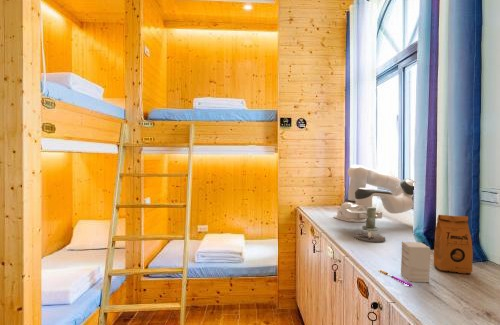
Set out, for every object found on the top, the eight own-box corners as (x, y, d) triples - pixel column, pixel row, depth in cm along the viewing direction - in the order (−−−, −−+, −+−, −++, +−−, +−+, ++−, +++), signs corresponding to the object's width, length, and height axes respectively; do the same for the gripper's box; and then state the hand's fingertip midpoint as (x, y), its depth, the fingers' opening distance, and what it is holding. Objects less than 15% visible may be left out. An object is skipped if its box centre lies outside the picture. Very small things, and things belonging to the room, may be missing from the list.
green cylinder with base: (359, 229, 174) (360, 207, 174) (367, 227, 179) (368, 206, 179) (373, 232, 168) (374, 209, 168) (381, 230, 173) (382, 208, 173)
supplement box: (420, 275, 120) (421, 242, 120) (429, 283, 113) (431, 247, 113) (400, 274, 121) (401, 241, 121) (407, 281, 114) (409, 246, 113)
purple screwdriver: (413, 287, 109) (379, 271, 124) (412, 283, 109) (379, 268, 124) (407, 289, 108) (374, 273, 124) (406, 286, 108) (373, 270, 123)
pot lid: (348, 237, 175) (348, 228, 175) (364, 233, 185) (364, 224, 185) (375, 244, 163) (376, 234, 163) (391, 239, 173) (391, 230, 173)
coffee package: (475, 277, 120) (477, 219, 120) (437, 272, 124) (440, 216, 124) (465, 268, 130) (467, 214, 130) (431, 264, 134) (433, 212, 133)
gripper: (373, 217, 188) (388, 222, 175) (342, 218, 184) (354, 223, 171) (374, 207, 188) (389, 211, 175) (342, 207, 184) (355, 211, 170)
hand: (371, 217), depth 173 cm, fingers closed on green cylinder with base, 5 cm apart
